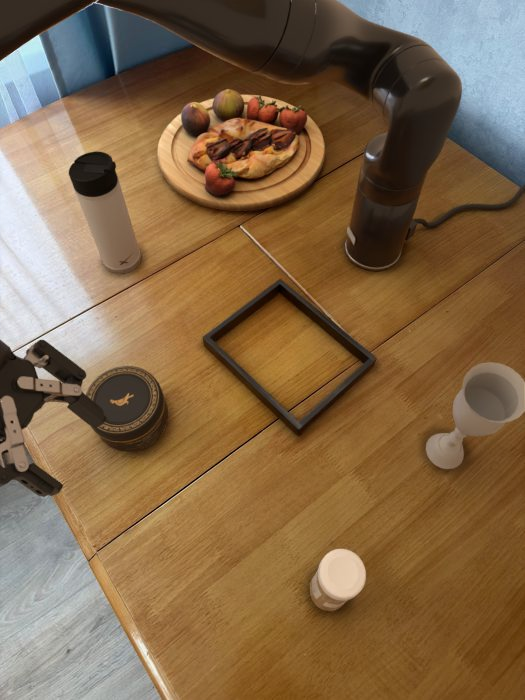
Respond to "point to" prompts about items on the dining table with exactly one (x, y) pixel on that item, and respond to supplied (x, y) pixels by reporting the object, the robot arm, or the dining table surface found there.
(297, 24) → the robot arm
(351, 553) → the sprinkles bottle
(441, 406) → the dining table surface
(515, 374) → the chalice
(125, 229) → the travel mug
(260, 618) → the dining table surface
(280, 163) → the wooden plate
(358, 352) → the picture frame
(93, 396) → the jar
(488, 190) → the dining table surface
